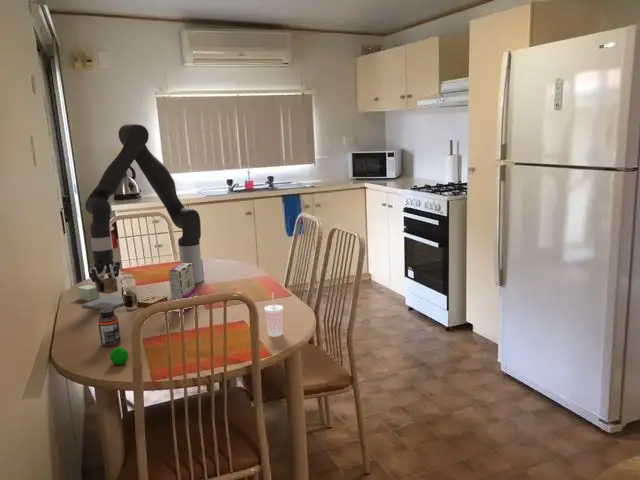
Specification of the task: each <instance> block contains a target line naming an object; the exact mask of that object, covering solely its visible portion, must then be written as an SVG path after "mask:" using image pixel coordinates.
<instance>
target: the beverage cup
mask: <svg viewBox="0 0 640 480" xmlns="http://www.w3.org/2000/svg"><path fill="white" fill-rule="evenodd" d="M274 294H275V293H274V292H272V293H271V297H272V304H270V305H266V306H264V309H263V310H264V312H265V319H266V326H267V327H266V328H267V335H268V336H269V337H272V338H274V337H280V336H282V335H283V311H284V306H283V305H280V304H275V297H274V296H275V295H274Z"/></svg>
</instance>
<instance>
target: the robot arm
mask: <svg viewBox="0 0 640 480" xmlns="http://www.w3.org/2000/svg"><path fill="white" fill-rule="evenodd" d="M149 135H150V134H149V131H148V129H147V128H146V127H145V126H144V125H143V124H138V123H127V124H124V125H122V126H120V128H119V130H118V139H119V141H120V143H121V144H122V145H123V146H122V148H121V150H120V151H119V153H118V154H117V155H116V157H115V158H114V159H113V160H112V162H111V163H110V164H109V165H108V166H107V167H106V169H105V170H104V172H103V174H102V175H101V178H100V180H99V181H98V184H97V185H96V187H95V188H94V189H93V191H92V192H91V193H90V194H89V195H88V197H87V199H86V201H85V210H86V212H87V213H88V214H90V215H92V222H91V223H90V225H89V227H90V238H91V239H90V240H91V241H90V242H91V243H90V244H91V253H92V259H93V262H94V265H93V267H92V268H88V269H87V271H88V274H89V276H90V279H91V281H92V283H95V282H96V283H97V284H98V290H99V292H104V284H103V279H104V277H105V276H106V275H107V278H114V279H117V278H118V277H119V273H120V268H121V267H120V266H121V262H120V261H114V258H115V257H114V247H113V239H112V236H111V227H110V223H111V214H112V213H111V211H112V210H111V209H112V208H111V205H110V202H109V201H108V200H109V198H111V196H113V195H115V194H116V192H117V191H118V189H119V187H120V185H121V183H122V181H123V179H124V177H125V175H126V174H127V172H128V170H129V168H130V167H131V165H132V164H133V162H136V164H137V165H138V167H139V168H140V170H141V172H142V174H143V175H144V177H145V178H146V180H147V182H148V183H149V185H150V186H151V188H152V189H153V191H154V192H155V194H156V195H157V197H158V198H159V199H160V201H161V203H162V204H163V206H164V207H165V209H166V211H167V213H168V216H169V217H170V220H171V221H172V223H173V224H174V226H175V227H177V228H178V229H180V230H181V229H182V231H181V232H182V236H180V237H179V238H178V240H177V244H178V254H179V264H181V263H193V273H194V283H195V285H196V284H200V283H202V282H203V281H204V280H205V274H204V261H203V259H202V254H201V246H200V245H201V244H200V242H201V241H200V240H201V237H202V231H201V229H202V228H201V217H200V214H199V212H198V211H197V210H195V209H194V208H193V209H192V208H186V207H185V205H184V204H183V203H182V202H181V200H180V198H179V196H178V194H177V188H176V183H175V180H174V178H173V176H172V175H171V172H169V170H168V168H167V167H166V166H165V164H164V163H163V162H161V161H160V160H159V159H158V158H157V157H156V156H155V155H154V154H153V153H152V152H151V151H150V150H149V149H148V147H147V143H148V141H149Z"/></svg>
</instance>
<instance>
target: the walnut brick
mask: <svg viewBox="0 0 640 480" xmlns="http://www.w3.org/2000/svg"><path fill="white" fill-rule="evenodd" d="M94 283H95V285H94V286H96V292H99V290H98V284H97V283H96V282H94ZM103 284H104V292H99V294H100V293H101V294H106V295H110V294H113V293H117V292H119V289H118V288H119V286H118V280H117V278H115V279H114V278H108V276H107V277H104V279H103Z"/></svg>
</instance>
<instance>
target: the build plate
mask: <svg viewBox="0 0 640 480" xmlns="http://www.w3.org/2000/svg"><path fill="white" fill-rule="evenodd" d="M122 296H123V295H116V294H112V293H110V294H106V295H105V296H102V297H99V298H98V299H95V300H92V301H87V302H85V303H82V305H81V306H82V308H87V309H94V310H97V311H98V310H99V311H101V310H103V309H107V308H112V309H116V308H119V307H121V306H124V301H123V298H122Z"/></svg>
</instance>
